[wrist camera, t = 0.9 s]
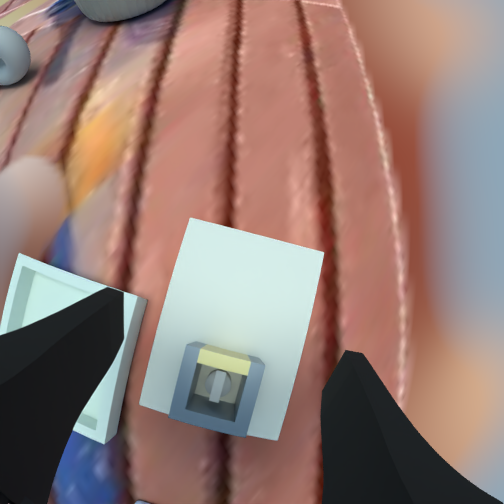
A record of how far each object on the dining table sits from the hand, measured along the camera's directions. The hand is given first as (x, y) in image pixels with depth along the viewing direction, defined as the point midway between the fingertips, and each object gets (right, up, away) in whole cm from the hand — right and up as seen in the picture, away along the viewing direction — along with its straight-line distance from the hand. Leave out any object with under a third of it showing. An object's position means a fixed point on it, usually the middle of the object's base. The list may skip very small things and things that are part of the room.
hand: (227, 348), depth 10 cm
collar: (-1, -6, +11) cm, 12 cm away
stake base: (-1, -3, +12) cm, 13 cm away
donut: (-30, +25, +18) cm, 43 cm away
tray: (-13, -4, +11) cm, 18 cm away
